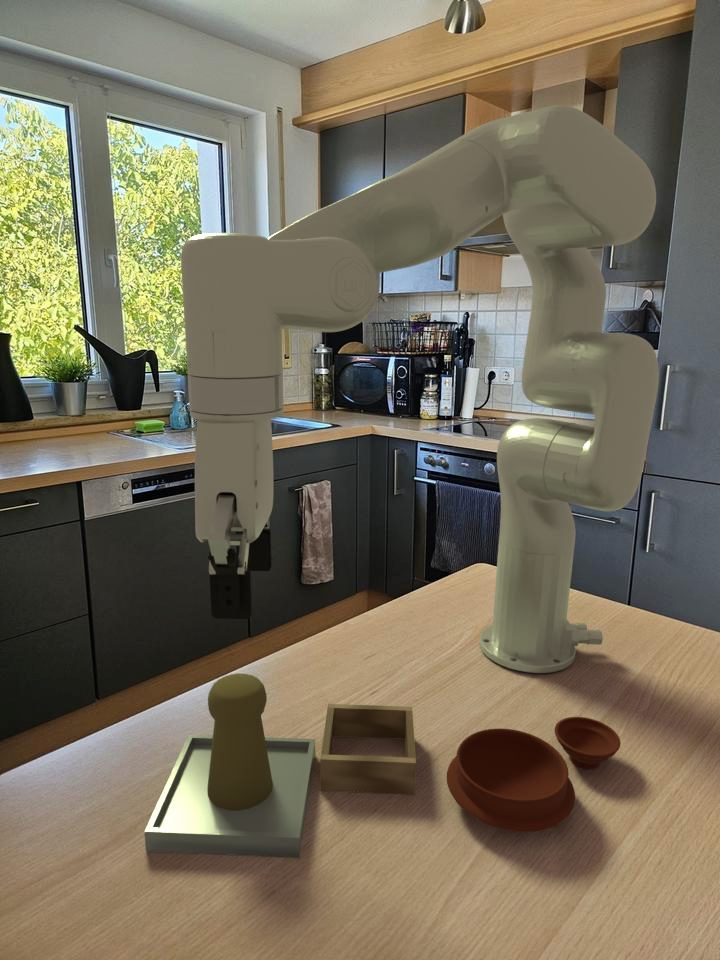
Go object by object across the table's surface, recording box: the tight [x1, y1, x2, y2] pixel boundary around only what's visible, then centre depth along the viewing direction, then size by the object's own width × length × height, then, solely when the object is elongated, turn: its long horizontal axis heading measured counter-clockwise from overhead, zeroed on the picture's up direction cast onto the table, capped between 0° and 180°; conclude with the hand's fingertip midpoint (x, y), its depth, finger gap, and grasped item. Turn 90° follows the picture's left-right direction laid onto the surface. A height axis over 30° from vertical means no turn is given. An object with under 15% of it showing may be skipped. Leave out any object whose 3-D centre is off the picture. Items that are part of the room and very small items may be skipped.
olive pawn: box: [207, 672, 273, 811], centre depth 60 cm, size 6×6×11 cm
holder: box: [319, 703, 417, 795], centre depth 67 cm, size 9×9×4 cm
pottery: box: [446, 716, 621, 833], centre depth 64 cm, size 12×20×4 cm, turn 123°
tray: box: [144, 734, 316, 859], centre depth 61 cm, size 13×13×2 cm
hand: (244, 591), depth 58 cm, fingers open, 9 cm apart
